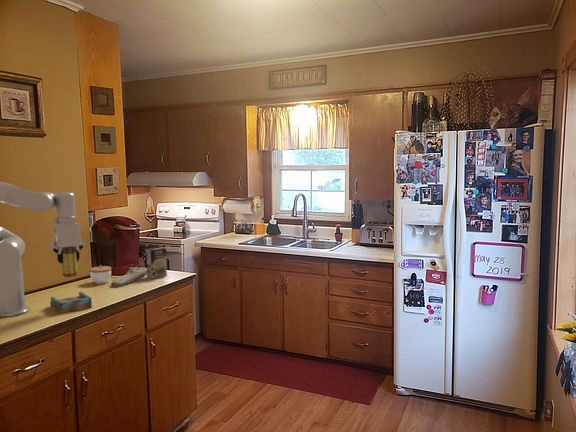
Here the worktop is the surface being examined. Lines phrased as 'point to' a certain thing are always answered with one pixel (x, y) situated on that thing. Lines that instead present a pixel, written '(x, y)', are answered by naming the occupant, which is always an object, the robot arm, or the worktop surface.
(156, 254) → the coffee box
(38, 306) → the worktop surface
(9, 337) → the worktop surface
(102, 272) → the lidded jar
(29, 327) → the worktop surface
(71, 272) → the sauce bottle
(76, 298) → the dock
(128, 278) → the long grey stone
